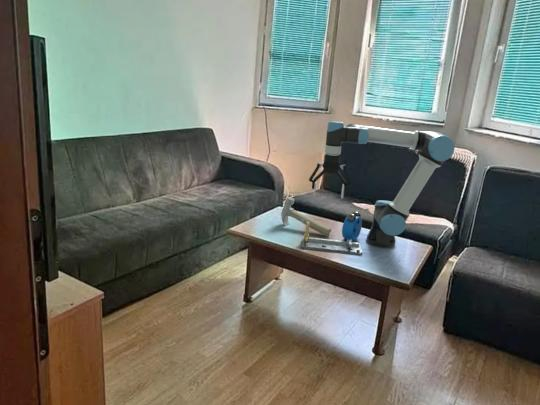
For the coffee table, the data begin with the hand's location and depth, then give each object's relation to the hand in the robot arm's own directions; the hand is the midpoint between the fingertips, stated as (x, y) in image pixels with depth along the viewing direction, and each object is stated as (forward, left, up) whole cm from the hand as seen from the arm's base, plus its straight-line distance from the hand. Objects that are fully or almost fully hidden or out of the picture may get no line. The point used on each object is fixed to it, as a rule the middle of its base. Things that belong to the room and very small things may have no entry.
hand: (328, 196), depth 219 cm
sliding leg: (+8, 0, -25) cm, 26 cm away
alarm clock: (-16, -15, -27) cm, 34 cm away
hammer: (+9, -22, -27) cm, 35 cm away
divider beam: (-5, 0, -25) cm, 25 cm away
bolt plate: (-5, +1, -26) cm, 27 cm away
